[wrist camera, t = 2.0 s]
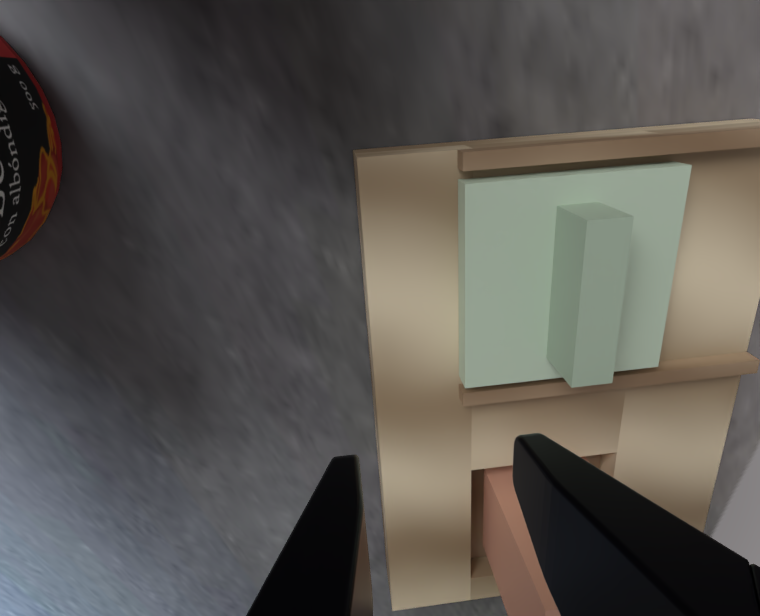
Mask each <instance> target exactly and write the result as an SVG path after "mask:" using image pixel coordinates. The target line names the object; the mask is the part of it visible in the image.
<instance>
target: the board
mask: <svg viewBox="0 0 760 616" xmlns="http://www.w3.org/2000/svg"><path fill="white" fill-rule="evenodd" d="M353 160H354V172H355V184H356V197H357V209H358V221H359V233H360V246H361V258H362V270H363V282H364V295H365V307H366V319H367V331H368V344H369V356H370V368H371V380H372V393H373V405H374V417H375V429H376V442H377V454H378V466H379V478H380V491H381V503H382V515H383V527H384V540H385V552H386V564H387V574H388V581H389V588H390V596H391V603H392V610H393V611H396V610H403V609H410V608H417V607H424V606H431V605H438V604H446V603H453V602H460V601H467V600H474V599H481V598H488V597H495V596H501V595H500V592H499V589H498V586H497V584H496V581H495V578H494V575H493V572H492V569H491V567H490V564H489V561H488V558H487V555H486V552H485V550H484V547H483V500H484V469H486V468H494V467H502V466H510V465H513V451H514V441H515V438H516V437H517V436H518V435H523V434H532V433H541V434H543V435H545V436H547V437H548V438H550V439H551V440H553V441H555V442H556V443H558V444H560V445H561V446H563V447H565V448H566V449H568V450H569V451H571V452H573V453H574V454H576V455H578V456H579V457H583V456H585V457H586V458H587V460H588V461H589V463H591V464H592V465H594V466H595V467H597V468H599V469H600V470H602V471H604V472H605V473H607V474H608V475H610V476H612V477H613V478H615V479H617V480H618V481H620V482H621V483H623V484H625V485H626V486H628V487H630V488H631V489H633V490H634V491H636V492H638V493H639V494H641V495H643V496H644V497H646V498H647V499H649V500H651V501H652V502H654V503H656V504H657V505H659V506H660V507H662V508H664V509H665V510H667V511H669V512H670V513H672V514H674V515H675V516H677V517H678V518H680V519H682V520H683V521H685V522H687V523H688V524H690V525H691V526H693V527H695V528H696V529H698V530H700V531H701V532H703V531H704V527H705V523H706V519H707V514H708V510H709V506H710V502H711V498H712V494H713V489H714V485H715V481H716V477H717V473H718V469H719V465H720V460H721V456H722V452H723V448H724V444H725V440H726V435H727V431H728V427H729V423H730V419H731V415H732V411H733V406H734V402H735V398H736V394H737V390H738V386H739V381H740V377H741V375H744V374H752V373H757V370H758V366H759V362H760V360H759V359H757V358H756V357H754V356H752V355H751V354H749V353H748V352H747V348H748V344H749V340H750V336H751V332H752V327H753V323H754V319H755V315H756V311H757V307H758V303H759V298H760V119H740V120H727V121H714V122H702V123H689V124H676V125H663V126H651V127H638V128H625V129H612V130H600V131H587V132H574V133H561V134H548V135H536V136H523V137H510V138H497V139H485V140H472V141H459V142H446V143H434V144H421V145H408V146H395V147H383V148H370V149H357V150H353ZM672 161H675V162H680V163H685V164H689V165H692V168H691V174H690V180H689V186H688V192H687V198H686V204H685V210H684V216H683V222H682V227H681V233H680V239H679V245H678V251H677V257H676V263H675V269H674V275H673V281H672V287H671V293H670V299H669V305H668V311H667V317H666V323H665V329H664V335H663V341H662V347H661V353H660V359H659V365H658V367H652V368H643V369H634V370H625V371H616V372H614V374H613V382H612V383H608V384H600V385H591V386H582V387H573V388H571V387H570V385H569V384H568V383H567V382H566V381H565V379H564V378H554V379H545V380H536V381H527V382H518V383H509V384H500V385H491V386H482V387H474V388H465V387H464V385H463V383H462V381H461V379H460V377H459V292H458V179H468V178H480V177H492V176H504V175H516V174H528V173H540V172H552V171H564V170H576V169H588V168H600V167H612V166H624V165H636V164H648V163H660V162H672Z"/></svg>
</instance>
